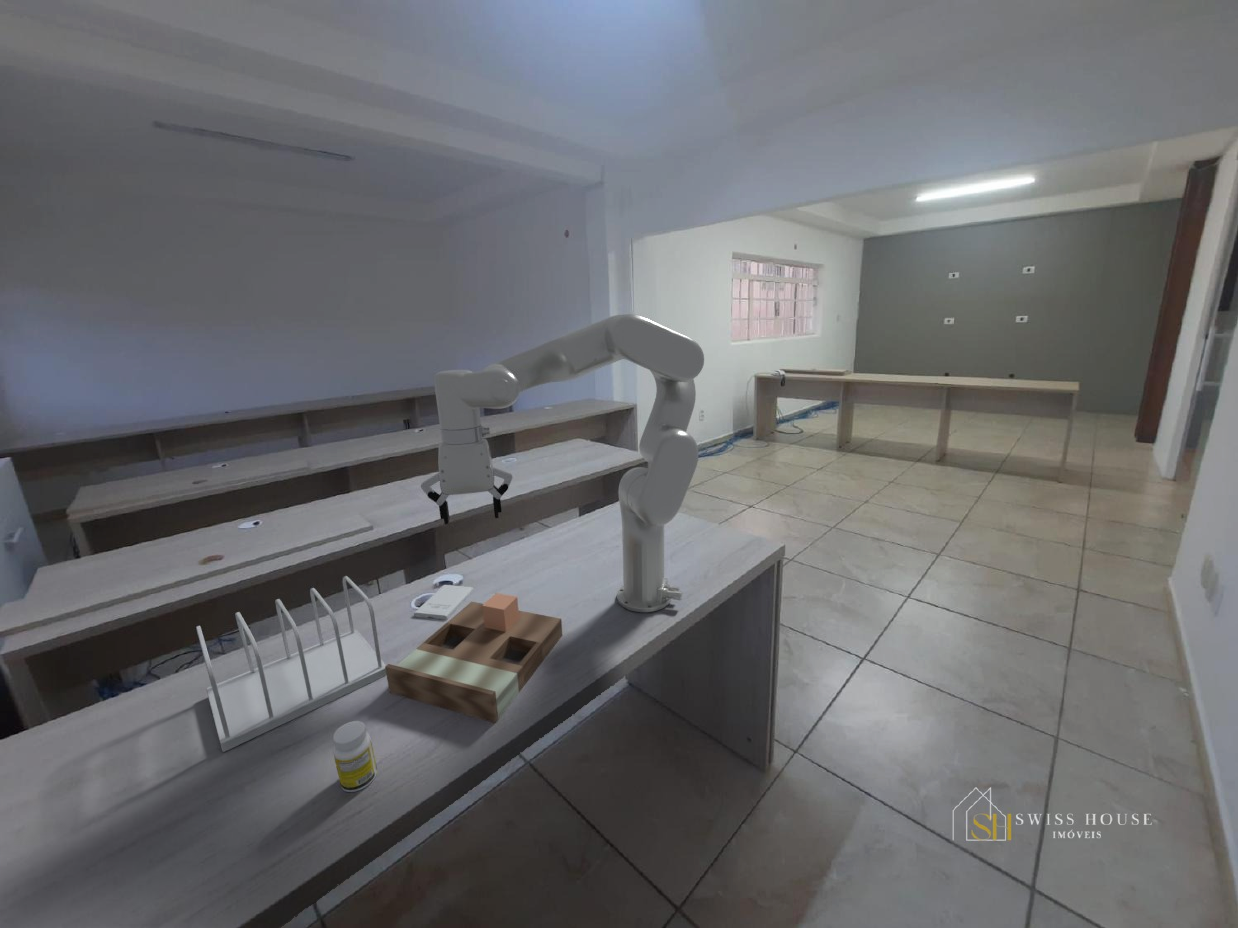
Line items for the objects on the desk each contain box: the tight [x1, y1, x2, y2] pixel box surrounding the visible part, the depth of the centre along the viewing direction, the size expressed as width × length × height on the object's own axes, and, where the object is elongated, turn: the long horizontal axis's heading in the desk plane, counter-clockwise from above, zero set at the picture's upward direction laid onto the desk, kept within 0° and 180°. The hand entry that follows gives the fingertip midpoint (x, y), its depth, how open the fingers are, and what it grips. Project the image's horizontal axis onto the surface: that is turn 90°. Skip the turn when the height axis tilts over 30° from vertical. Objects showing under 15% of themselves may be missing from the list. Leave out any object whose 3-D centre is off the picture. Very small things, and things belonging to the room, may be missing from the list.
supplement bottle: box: [332, 720, 378, 793], centre depth 70 cm, size 5×5×8 cm
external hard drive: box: [413, 584, 475, 621], centre depth 117 cm, size 2×8×12 cm
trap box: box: [385, 601, 563, 724], centre depth 95 cm, size 22×25×6 cm
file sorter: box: [195, 575, 387, 753], centre depth 89 cm, size 25×17×16 cm
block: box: [482, 592, 520, 632], centre depth 101 cm, size 5×5×5 cm
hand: (472, 518), depth 100 cm, fingers open, 9 cm apart
